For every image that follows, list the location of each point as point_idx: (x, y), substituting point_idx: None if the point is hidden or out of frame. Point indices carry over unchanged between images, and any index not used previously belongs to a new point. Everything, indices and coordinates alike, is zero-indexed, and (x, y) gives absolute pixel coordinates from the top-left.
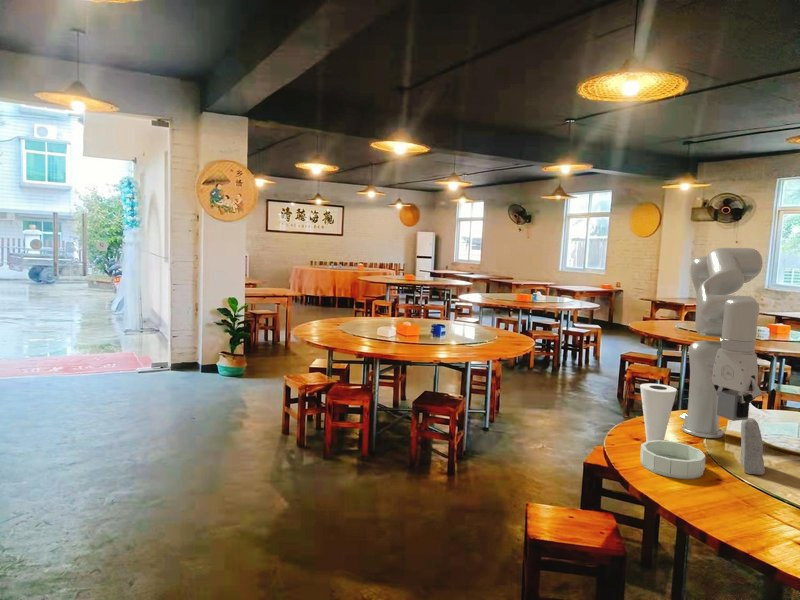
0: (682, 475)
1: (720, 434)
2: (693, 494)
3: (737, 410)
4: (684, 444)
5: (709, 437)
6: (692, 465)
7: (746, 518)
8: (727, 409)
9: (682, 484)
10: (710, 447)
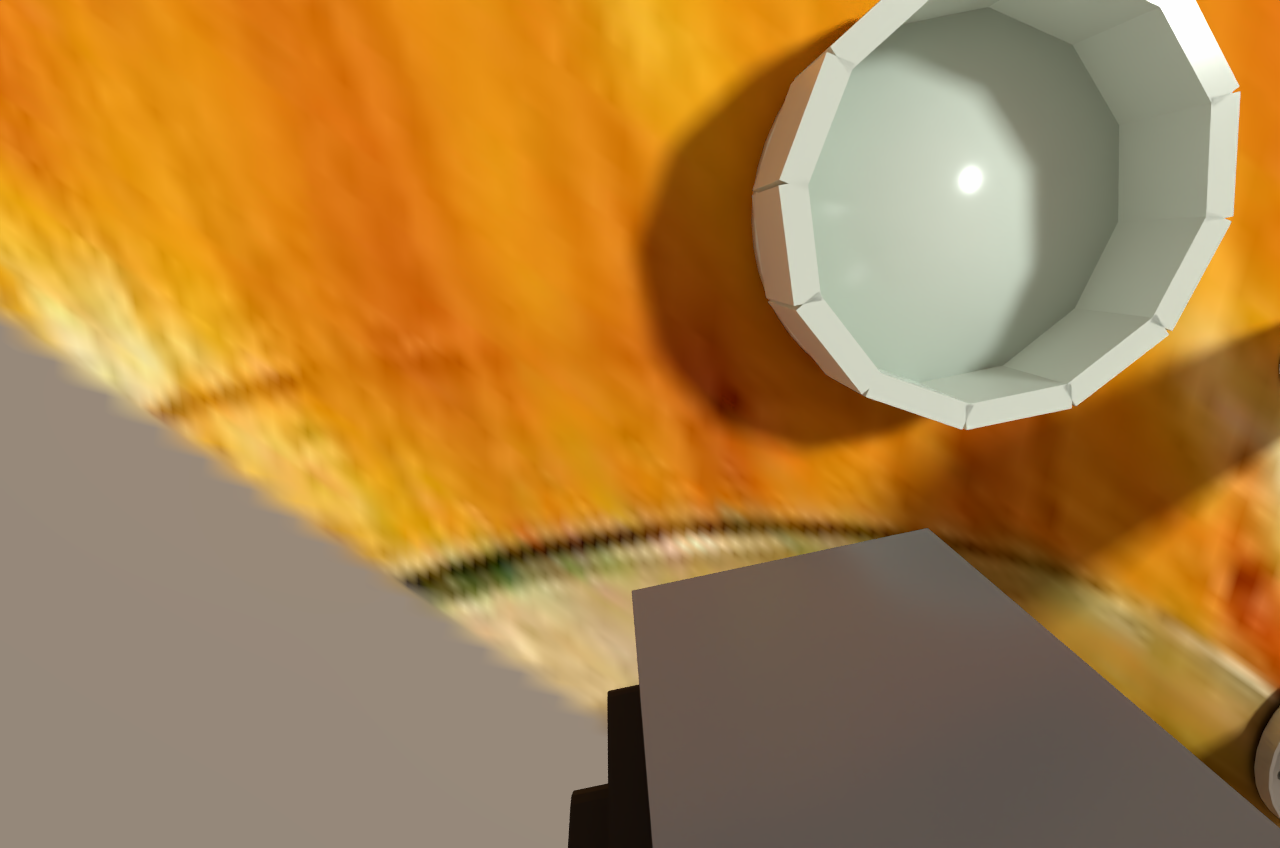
0: (762, 162)
1: (1273, 797)
2: (533, 92)
3: (639, 770)
4: (1094, 379)
5: (1270, 724)
6: (774, 228)
7: (224, 220)
8: (786, 659)
9: (680, 113)
10: (1150, 646)
